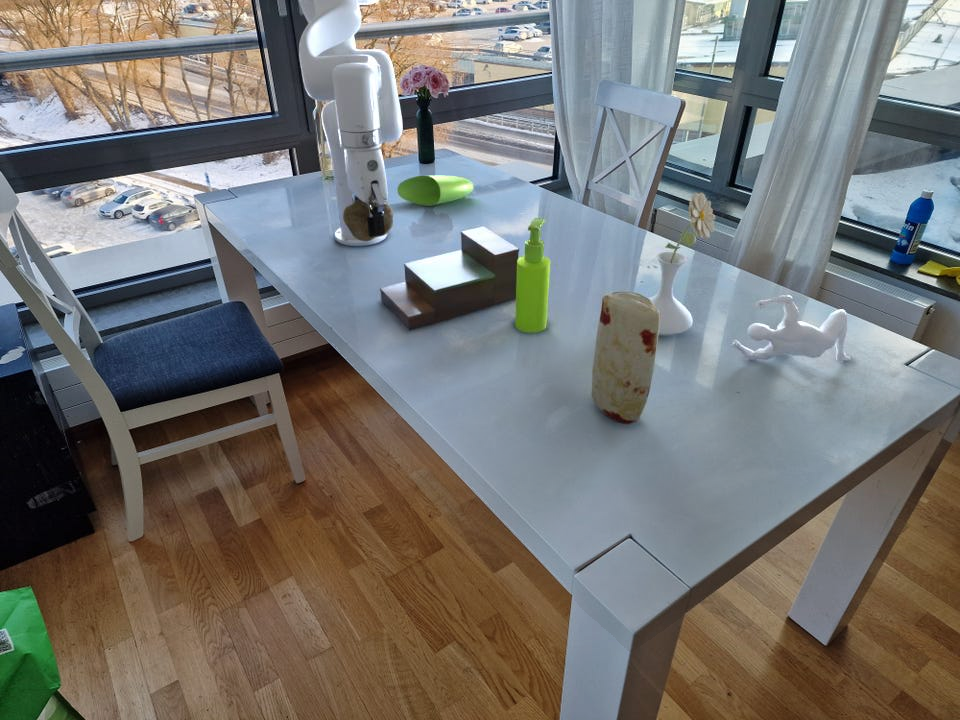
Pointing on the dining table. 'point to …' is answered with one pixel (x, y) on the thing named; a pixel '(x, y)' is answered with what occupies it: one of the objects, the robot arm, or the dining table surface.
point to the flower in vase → (671, 310)
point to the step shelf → (455, 281)
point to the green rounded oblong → (434, 189)
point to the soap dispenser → (532, 283)
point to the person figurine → (797, 334)
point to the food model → (624, 355)
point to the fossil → (364, 219)
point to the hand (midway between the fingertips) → (369, 227)
